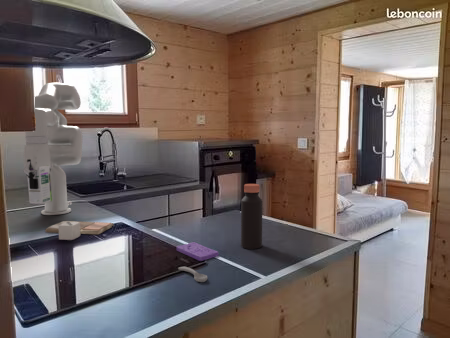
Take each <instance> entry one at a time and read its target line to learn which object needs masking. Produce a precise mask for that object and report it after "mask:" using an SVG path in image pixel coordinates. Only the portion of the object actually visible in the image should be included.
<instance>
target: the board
mask: <svg viewBox="0 0 450 338" xmlns="http://www.w3.org/2000/svg"><path fill="white" fill-rule="evenodd" d="M66 222H78V221H76V220H75V221H74V220H73V221H70V220H62V221H61V222H60V221H59V222H57V223H55V224H52V225H50V226H48V227H47V228H45V230H44V231H45V233H52V234H53V233H57V234H59V226H58V225H61V224H63V223H66ZM79 222H80V235H81V234H83V235H100V234H102V233H104V232H106V231H107V230H109V229H111V228H113V227H114V222H101V221H96V222H95V221H79ZM112 226H113V227H112Z"/></svg>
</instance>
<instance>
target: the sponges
mask: <svg viewBox="0 0 450 338" xmlns="http://www.w3.org/2000/svg"><path fill="white" fill-rule="evenodd" d="M176 251H177V252H179V253H182V254H184V255H186V256H188V257H190V258H191V259H195V260H196V261H199V262H202V261H206V260H208V259H209V260H210V259H211V258H215V257H218V256H219V251H218V250H214V249H212V248H209V247H207V246H205V245H202V244H200V243H197V242H195V241H193V242H189V243H185V244H183V245H182V244H181V245H177V246H176Z"/></svg>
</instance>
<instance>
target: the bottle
mask: <svg viewBox="0 0 450 338" xmlns="http://www.w3.org/2000/svg"><path fill="white" fill-rule="evenodd" d="M260 187H261V186H260V184H259V183H258V184H257V183H245V184H244V185H243V194H244V196H243V198H242V199H241V201H240V246H241V247H242V248H244V249H247V250H257V249H261V248H262V247H263V199H262V198H261V197H260V196H259V194H260Z"/></svg>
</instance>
